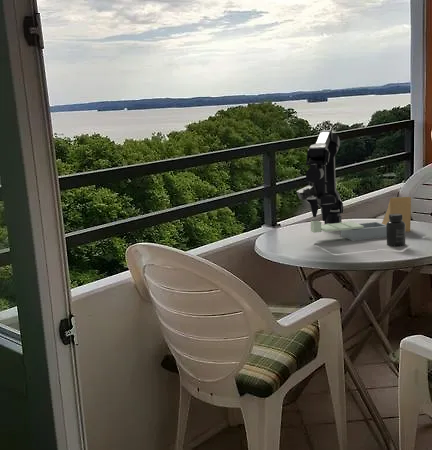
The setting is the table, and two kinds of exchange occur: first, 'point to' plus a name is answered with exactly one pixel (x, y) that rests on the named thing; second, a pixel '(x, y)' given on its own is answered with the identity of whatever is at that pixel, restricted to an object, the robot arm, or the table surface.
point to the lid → (333, 226)
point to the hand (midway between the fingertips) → (319, 218)
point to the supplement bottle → (395, 231)
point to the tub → (366, 231)
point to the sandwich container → (399, 210)
